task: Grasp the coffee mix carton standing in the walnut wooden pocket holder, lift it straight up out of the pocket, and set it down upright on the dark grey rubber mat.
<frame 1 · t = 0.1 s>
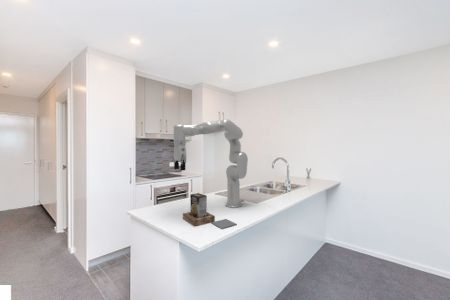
hand: (179, 169, 137), 31 cm above the table, fingers open, 9 cm apart
coffee box: (198, 220, 131), resting in pocket holder
pocket holder: (198, 220, 131), on the table
rubber mat: (223, 224, 124), on the table
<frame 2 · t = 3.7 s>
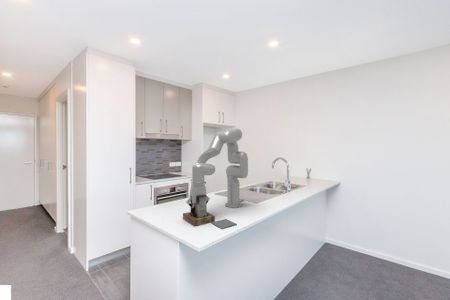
hand: (198, 212, 131), 5 cm above the table, fingers closed on coffee box, 7 cm apart
coffee box: (198, 220, 131), resting in pocket holder, touching gripper
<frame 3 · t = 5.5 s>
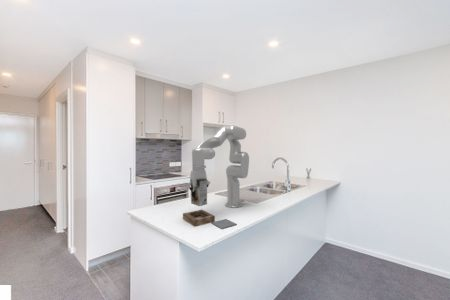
hand: (199, 196, 132), 15 cm above the table, fingers closed on coffee box, 7 cm apart
coffee box: (199, 204, 132), point 10 cm above the table, touching gripper
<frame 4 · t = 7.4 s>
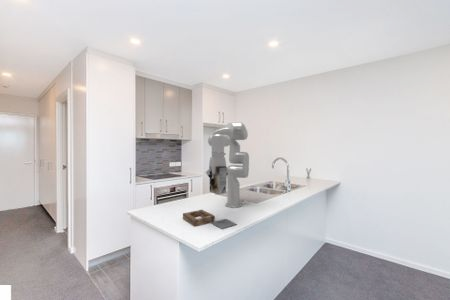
hand: (218, 184, 126), 24 cm above the table, fingers closed on coffee box, 7 cm apart
coffee box: (218, 192, 126), point 18 cm above the table, touching gripper
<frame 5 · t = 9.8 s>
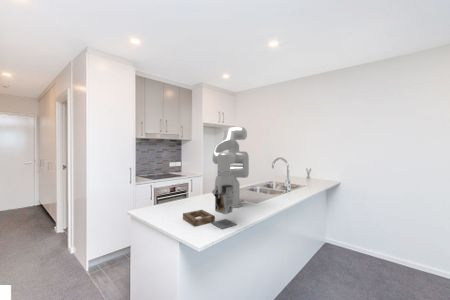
hand: (223, 203, 124), 13 cm above the table, fingers closed on coffee box, 7 cm apart
coffee box: (223, 212, 124), point 7 cm above the table, touching gripper
when the fingers open (7 cm above the table, at t = 11.5 s): coffee box drops 1 cm, resting on rubber mat.
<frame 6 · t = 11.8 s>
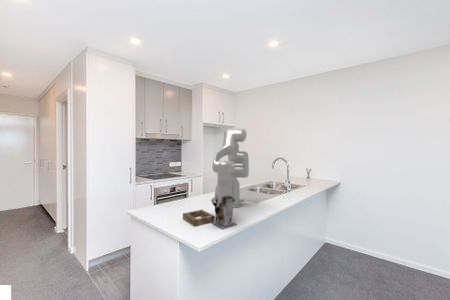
hand: (223, 211, 124), 7 cm above the table, fingers open, 9 cm apart
coffee box: (223, 223, 124), resting on rubber mat
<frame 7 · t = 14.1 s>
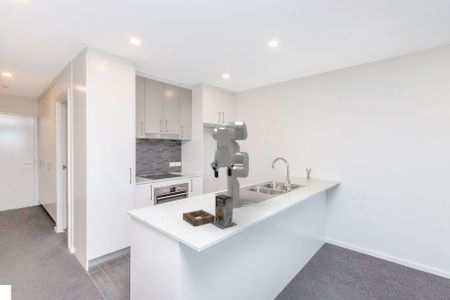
hand: (223, 176, 126), 28 cm above the table, fingers open, 9 cm apart
nothing on the table moved.
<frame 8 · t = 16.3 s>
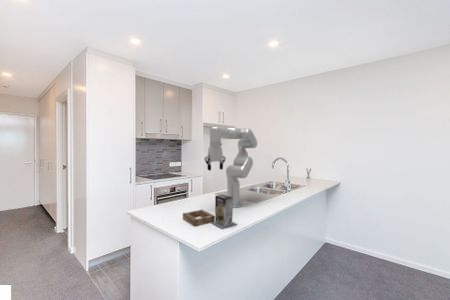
hand: (215, 169, 144), 30 cm above the table, fingers open, 9 cm apart
nothing on the table moved.
at the end: coffee box inside the target area on the rubber mat (0.1 cm from its centre), point 0.4 cm above the rubber mat's base; coffee box tilted 0°; the gripper is holding nothing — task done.
